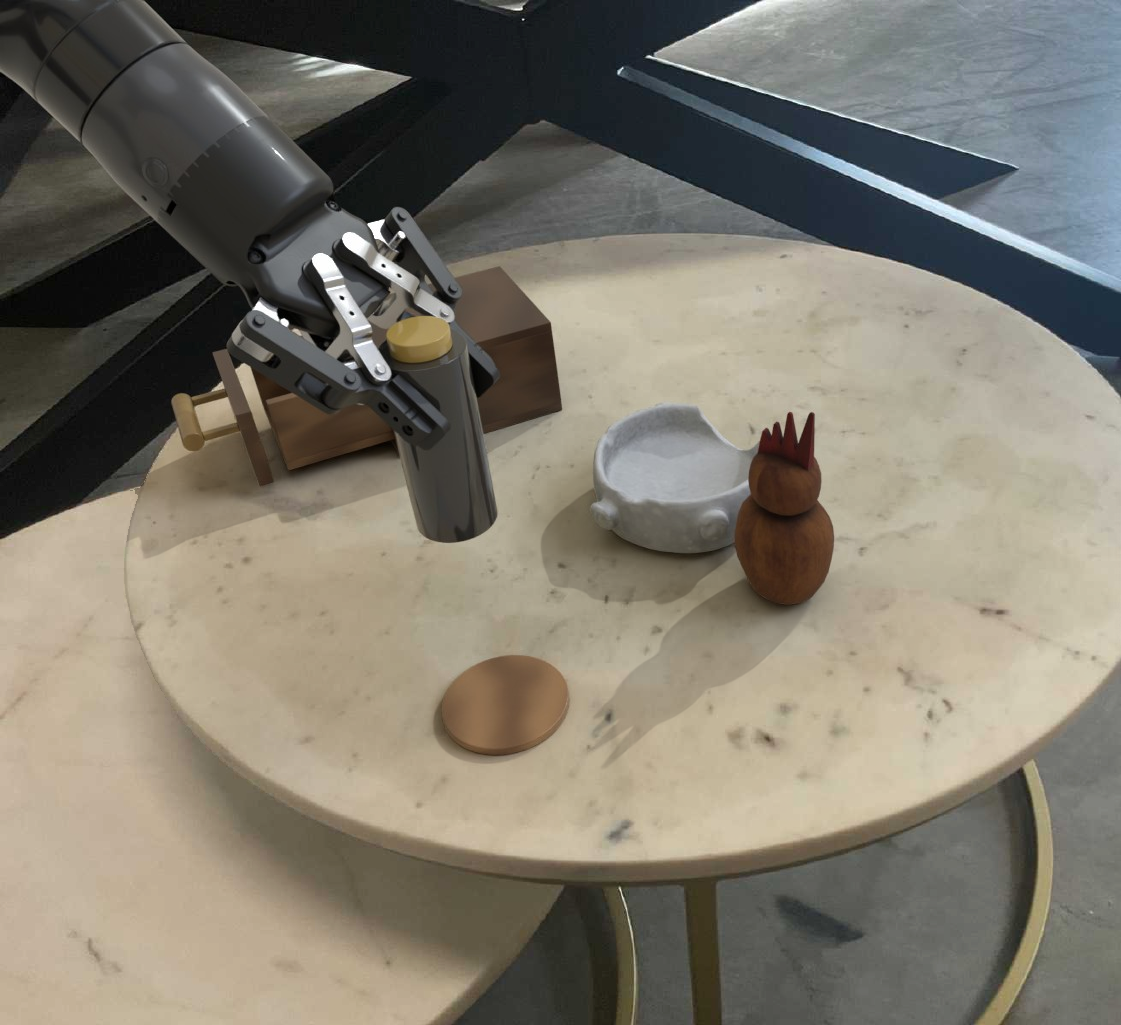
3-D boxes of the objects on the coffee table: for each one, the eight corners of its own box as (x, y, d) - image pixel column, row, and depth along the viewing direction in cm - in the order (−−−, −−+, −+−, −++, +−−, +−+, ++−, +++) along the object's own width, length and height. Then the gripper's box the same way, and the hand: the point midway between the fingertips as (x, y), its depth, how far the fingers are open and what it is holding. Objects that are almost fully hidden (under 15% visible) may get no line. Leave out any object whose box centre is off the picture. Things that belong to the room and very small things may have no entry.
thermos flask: (430, 553, 62) (385, 362, 55) (406, 509, 66) (361, 323, 58) (509, 526, 64) (475, 337, 56) (482, 485, 67) (447, 301, 60)
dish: (647, 437, 95) (643, 386, 92) (801, 476, 90) (802, 423, 87) (555, 537, 85) (546, 483, 82) (721, 587, 80) (719, 531, 77)
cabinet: (400, 459, 95) (378, 369, 89) (362, 391, 104) (340, 306, 98) (562, 410, 99) (551, 322, 94) (513, 349, 108) (500, 265, 103)
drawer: (204, 504, 89) (176, 431, 85) (184, 434, 98) (158, 365, 93) (423, 438, 95) (407, 368, 91) (387, 378, 103) (371, 311, 99)
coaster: (466, 774, 68) (464, 767, 67) (427, 688, 73) (425, 682, 73) (589, 724, 70) (588, 717, 70) (542, 645, 76) (541, 638, 76)
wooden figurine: (847, 595, 79) (857, 412, 69) (781, 630, 76) (782, 445, 67) (786, 546, 83) (788, 368, 74) (722, 578, 81) (716, 397, 72)
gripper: (271, 163, 64) (493, 381, 67) (81, 272, 53) (356, 524, 57) (328, 71, 59) (564, 312, 62) (131, 172, 48) (428, 454, 52)
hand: (464, 412), depth 59 cm, fingers closed on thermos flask, 4 cm apart
